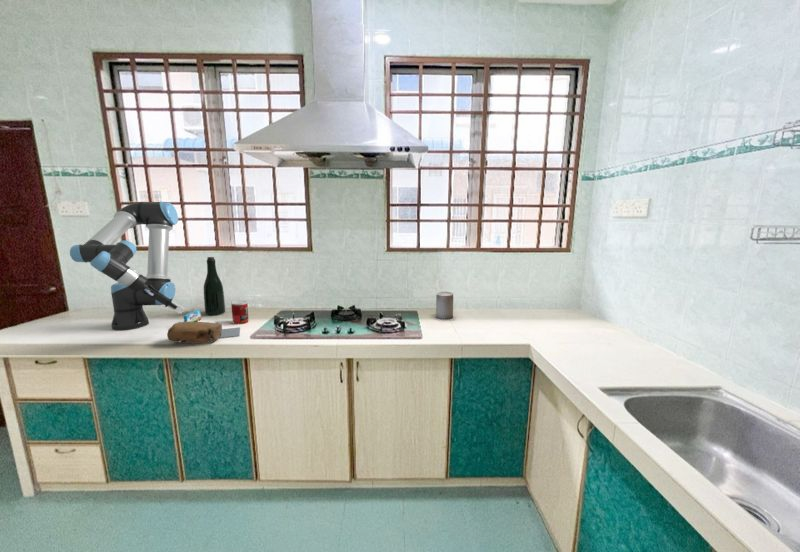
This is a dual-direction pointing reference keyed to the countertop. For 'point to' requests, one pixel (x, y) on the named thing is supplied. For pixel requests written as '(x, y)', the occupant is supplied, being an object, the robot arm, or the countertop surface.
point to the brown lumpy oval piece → (195, 332)
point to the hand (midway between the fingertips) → (182, 311)
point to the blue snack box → (193, 316)
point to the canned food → (240, 312)
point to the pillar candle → (444, 305)
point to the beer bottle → (213, 290)
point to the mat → (228, 333)
